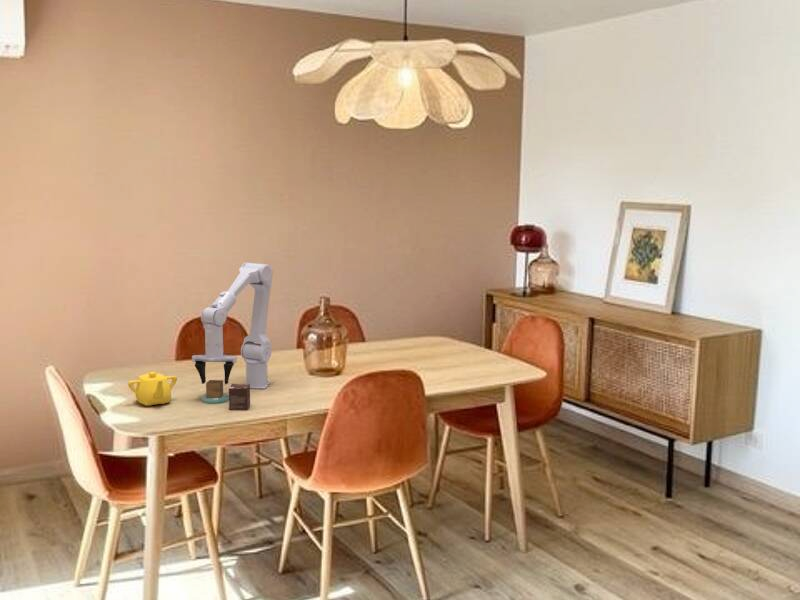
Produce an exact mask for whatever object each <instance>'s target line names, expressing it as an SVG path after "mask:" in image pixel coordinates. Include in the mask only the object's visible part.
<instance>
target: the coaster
mask: <svg viewBox="0 0 800 600" xmlns="http://www.w3.org/2000/svg"><path fill="white" fill-rule="evenodd" d="M200 399H201V402H202V404H207V405H220V404H225V403H227V402H229V393H226V392H223V395H222V396H221V398H206V393H204V394H202V395H201V397H200Z"/></svg>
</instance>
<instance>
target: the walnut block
mask: <svg viewBox="0 0 800 600" xmlns="http://www.w3.org/2000/svg"><path fill="white" fill-rule="evenodd" d="M223 393H224V380H221V379H220V380H218V379H217V380H216V379H209V380H208V381H207V382H205V394H206V398H221V396H222V395H223Z"/></svg>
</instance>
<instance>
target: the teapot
mask: <svg viewBox="0 0 800 600" xmlns="http://www.w3.org/2000/svg"><path fill="white" fill-rule="evenodd" d="M168 380H171V383H170V384H169V381H168ZM177 380H178V377H177V376H176V375H169V376H168V375H167V376H165V374H162V373H157V372H156V371H150V372H148V373H144V374H141V375H139V376H138V379H137V380H136V379H135V380H133V379H132V380H130V381H129V380H128V382H127V385H128V388H129V389H130V390H131V392H133V393H134V394H135V398H136V400H137V402H138V403H140V404H142V405H144V406H145V407H151V406H154V405H166V404H167V403H169V402H170V400H171V398H172V392H171V390H172V389H173V388H174V386H175V385H176V383H177ZM134 384H136V386H134ZM165 403H166V404H165Z"/></svg>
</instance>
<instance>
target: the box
mask: <svg viewBox="0 0 800 600" xmlns="http://www.w3.org/2000/svg"><path fill="white" fill-rule="evenodd" d="M228 395H229V401H228V408H229V410H230V411H241V410H242V411H243V410H245V411H247V410H249V408H250V406H251V388H250V384H246V383H231V384H230V386H229V388H228Z"/></svg>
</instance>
